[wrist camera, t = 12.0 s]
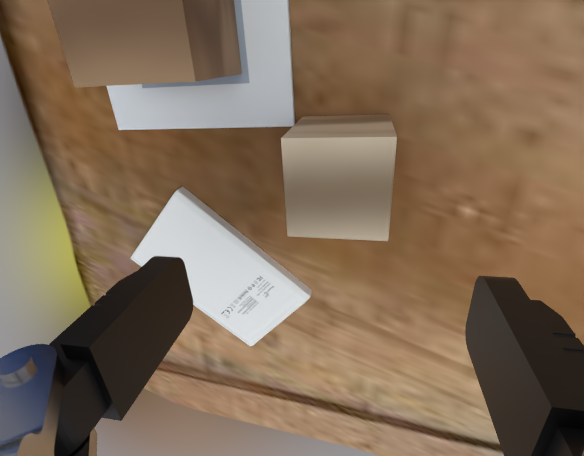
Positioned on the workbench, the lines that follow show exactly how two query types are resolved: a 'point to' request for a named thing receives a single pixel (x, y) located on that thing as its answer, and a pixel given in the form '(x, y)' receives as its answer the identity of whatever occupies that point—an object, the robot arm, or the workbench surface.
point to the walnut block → (147, 40)
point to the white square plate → (224, 82)
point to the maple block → (339, 176)
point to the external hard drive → (223, 268)
